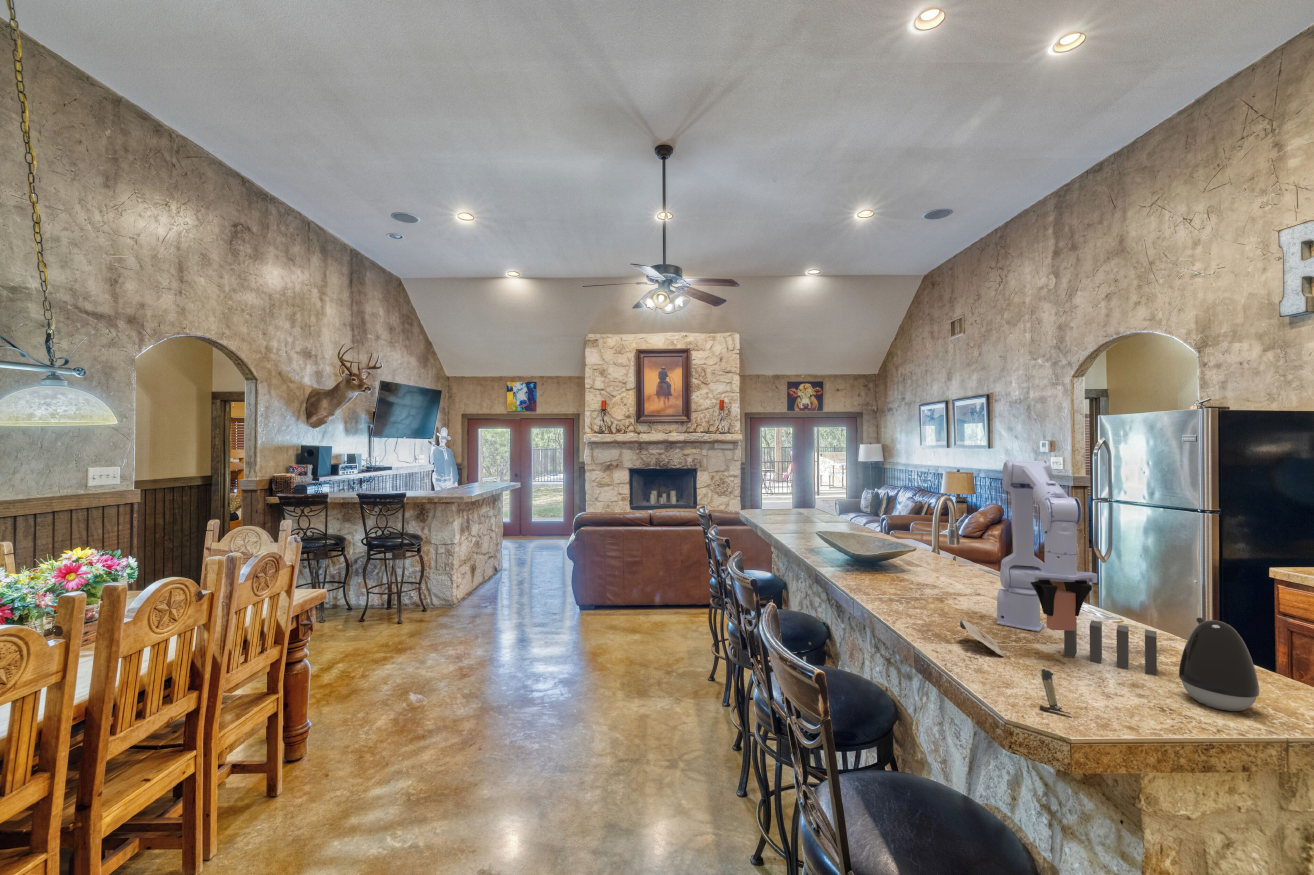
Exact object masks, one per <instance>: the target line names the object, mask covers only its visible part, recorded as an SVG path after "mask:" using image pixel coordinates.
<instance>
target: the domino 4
mask: <svg viewBox="0 0 1314 875" xmlns="http://www.w3.org/2000/svg"><path fill="white" fill-rule="evenodd" d="M1157 634H1158V633H1157V631H1156V630H1151V629H1145V630H1144V674H1145V675H1149V676H1155V677H1158V652H1157V650H1158V648H1157V647H1158V646H1157V644H1158V642H1157V641H1158V640H1157V637H1158V636H1157Z"/></svg>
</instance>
